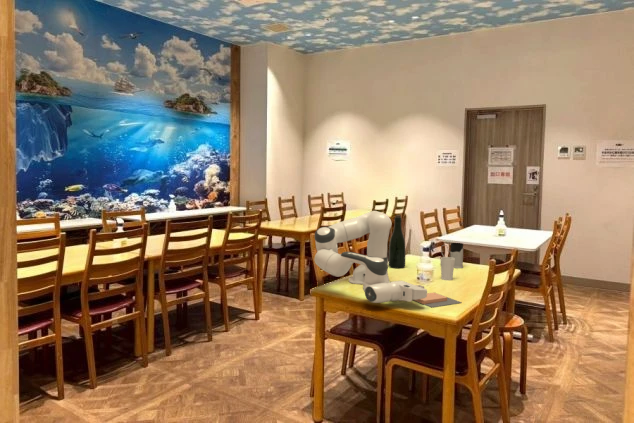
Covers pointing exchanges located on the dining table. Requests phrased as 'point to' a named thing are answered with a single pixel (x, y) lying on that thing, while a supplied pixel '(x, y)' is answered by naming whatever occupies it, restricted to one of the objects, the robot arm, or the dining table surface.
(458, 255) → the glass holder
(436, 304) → the mat
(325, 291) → the dining table surface
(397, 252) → the dark green bottle
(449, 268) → the cup
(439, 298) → the tile
